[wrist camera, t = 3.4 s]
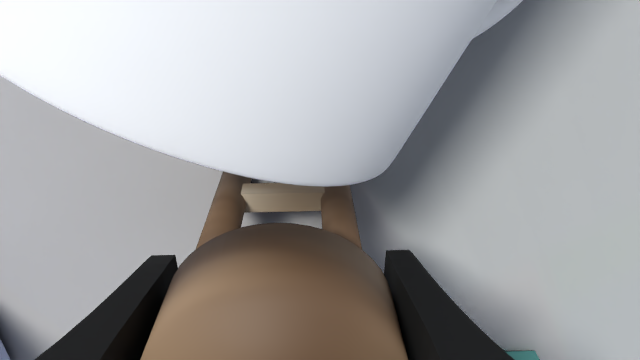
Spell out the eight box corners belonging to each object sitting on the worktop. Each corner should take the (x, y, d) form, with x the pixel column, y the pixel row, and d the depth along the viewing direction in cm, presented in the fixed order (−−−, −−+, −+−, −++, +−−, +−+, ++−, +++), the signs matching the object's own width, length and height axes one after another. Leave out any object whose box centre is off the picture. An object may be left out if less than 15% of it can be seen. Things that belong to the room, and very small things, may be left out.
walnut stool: (214, 277, 16) (158, 491, 10) (194, 139, 13) (98, 309, 7) (363, 274, 16) (402, 482, 10) (372, 136, 13) (431, 301, 7)
